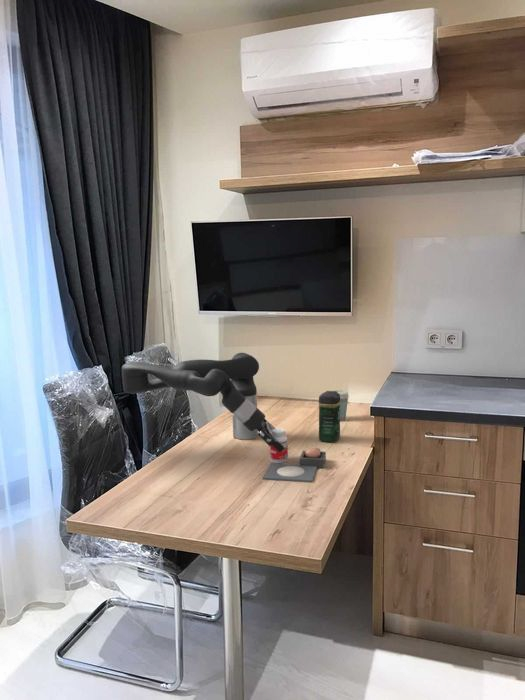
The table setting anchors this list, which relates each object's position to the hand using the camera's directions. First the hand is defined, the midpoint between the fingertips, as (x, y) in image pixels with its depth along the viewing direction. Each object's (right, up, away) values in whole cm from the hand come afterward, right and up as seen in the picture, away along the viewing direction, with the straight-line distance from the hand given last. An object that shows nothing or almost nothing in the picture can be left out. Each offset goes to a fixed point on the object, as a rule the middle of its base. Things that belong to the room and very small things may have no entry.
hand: (282, 446), depth 203 cm
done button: (+10, -3, -3) cm, 11 cm away
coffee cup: (+26, +3, +48) cm, 55 cm away
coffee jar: (+19, -1, +23) cm, 30 cm away
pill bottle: (-1, -5, +1) cm, 6 cm away
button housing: (+10, -6, -3) cm, 12 cm away
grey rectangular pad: (+2, -7, -11) cm, 13 cm away
